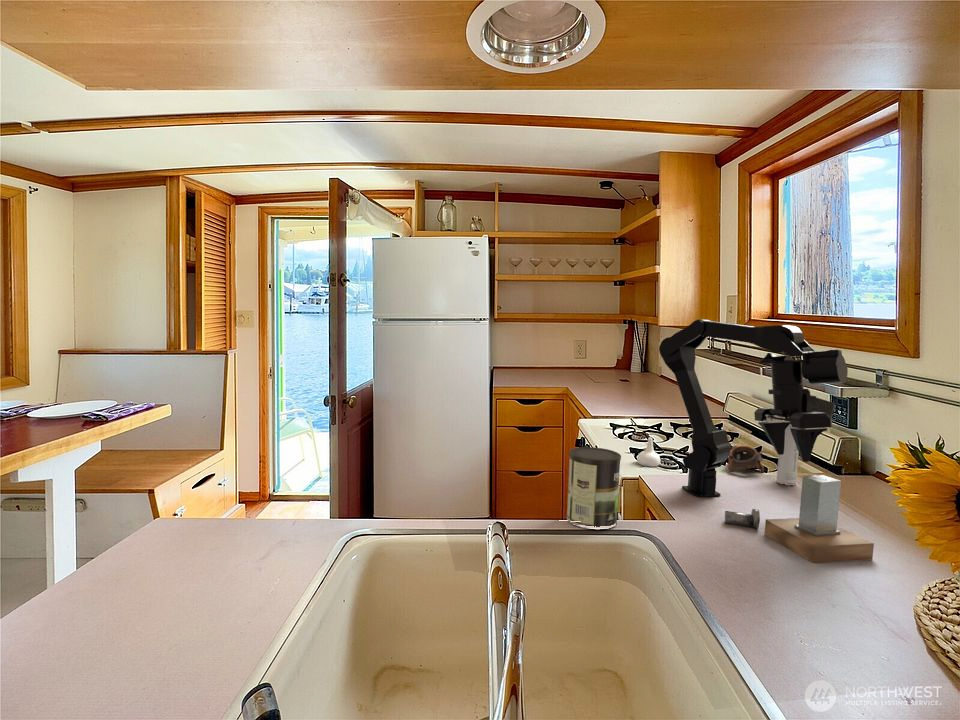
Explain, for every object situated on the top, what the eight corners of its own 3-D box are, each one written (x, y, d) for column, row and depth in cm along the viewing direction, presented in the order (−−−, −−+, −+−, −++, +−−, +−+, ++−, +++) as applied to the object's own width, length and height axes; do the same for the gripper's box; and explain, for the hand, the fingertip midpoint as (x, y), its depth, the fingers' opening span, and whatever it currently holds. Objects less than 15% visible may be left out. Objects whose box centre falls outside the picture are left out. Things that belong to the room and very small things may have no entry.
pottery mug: (774, 477, 141) (768, 454, 138) (742, 491, 141) (736, 468, 138) (746, 455, 153) (741, 433, 149) (717, 468, 153) (711, 446, 150)
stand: (764, 534, 101) (765, 519, 101) (817, 531, 103) (818, 517, 103) (813, 563, 89) (815, 546, 89) (872, 559, 91) (874, 543, 91)
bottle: (782, 485, 133) (788, 409, 131) (773, 480, 137) (779, 406, 135) (799, 486, 133) (806, 409, 131) (789, 480, 137) (796, 406, 135)
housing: (794, 527, 97) (798, 475, 96) (818, 524, 99) (822, 474, 98) (815, 537, 93) (820, 483, 92) (840, 534, 95) (845, 481, 94)
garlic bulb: (645, 469, 145) (649, 442, 143) (632, 461, 151) (635, 435, 149) (664, 468, 147) (667, 441, 145) (650, 460, 153) (653, 434, 151)
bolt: (725, 525, 105) (727, 508, 104) (724, 519, 108) (725, 502, 108) (758, 530, 103) (760, 513, 102) (755, 523, 106) (757, 507, 106)
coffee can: (615, 513, 109) (619, 448, 108) (618, 533, 99) (623, 462, 98) (566, 508, 111) (569, 444, 110) (564, 527, 101) (568, 457, 100)
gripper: (857, 383, 99) (863, 464, 99) (800, 381, 118) (805, 449, 118) (798, 386, 100) (804, 466, 99) (751, 384, 118) (755, 452, 118)
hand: (792, 458), depth 108 cm, fingers open, 9 cm apart
